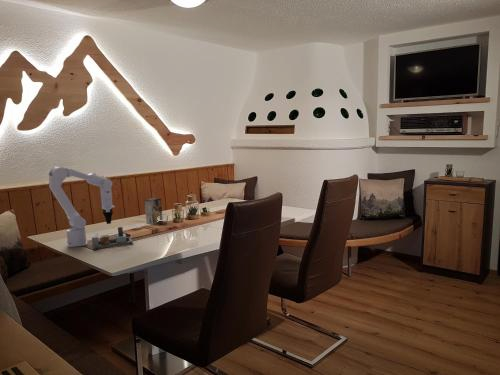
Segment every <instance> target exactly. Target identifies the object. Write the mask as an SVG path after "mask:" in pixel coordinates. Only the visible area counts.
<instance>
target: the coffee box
mask: <svg viewBox="0 0 500 375" xmlns="http://www.w3.org/2000/svg"><path fill="white" fill-rule="evenodd" d="M144 208H145V209H144V210H145V221H146V224H149V225H155V224H157V221H158V220H157V217H158V216H160V220H163V211H162V209H163V207H162V198H160V197H153V198H148V199H144ZM154 223H155V224H154Z"/></svg>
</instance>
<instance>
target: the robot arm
mask: <svg viewBox="0 0 500 375" xmlns="http://www.w3.org/2000/svg"><path fill="white" fill-rule="evenodd" d="M70 177H74V178H78V179H81V180H85V181H86V183H88V184H89V185H92V186H96V187H99V189H100V198H101V200H100V201H101V209H102V214H103V216H104V218H105V222H106V224H107V225H108V224H109V225H111V224H112V217H113V214H114V211H113V208H115V207H116V206H115V205H113V194H112V187H113V181H112V180H111V179H110V178H107V177H104V175H101V176H100V175H98V174H97V173H95V172H91V173H90V172H89V173H84V172H82V171H78V170H76V169H72V168H67V167H64V166H63V167H62V166H53V167H51V169H50V171H49V172H48V188H49V189H50V191H51V192H52V194H53V196H54V197H55V199H56V200H57V202H58V203H59V204H60V206H61V208H62V210H63V211H64V212H65V214H66V218H67V219H68V224H69V226H71V227H70V229H66V241H67V242H66V243H67V247H68V248H74V247H81V246H88V243H89V242H88V240H87V233H86V226H87V221H86V219H85V218H83V217H82V216H81V214H80V213H79V212H77V210H76V209H75V206H73V204H72V203H71V200H70V199H69V198H68V196H67V194H66V193H65V191H64V189H63V188H62V185H63V182H64V181H65V179H66V178H70Z"/></svg>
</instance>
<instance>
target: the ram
mask: <svg viewBox="0 0 500 375" xmlns="http://www.w3.org/2000/svg"><path fill="white" fill-rule="evenodd" d="M123 229H124V227H122V226H119V227H117V233H118V234H117V233H116V234H115V239H116V242H115V243H120V242H127V240H126V237H127V234H126V233H124V231H123Z"/></svg>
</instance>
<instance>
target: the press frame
mask: <svg viewBox="0 0 500 375" xmlns="http://www.w3.org/2000/svg"><path fill="white" fill-rule="evenodd" d="M91 242H92V250H95V249H94V248H97V249H105V248H104V247H107V248H112V246H115V247H119V246H120V247H121V246H122V245H123V246H129V245H133V240H132V237H131V236H126V242H120V243H116V238H111V239H110V238H109V242H110V244H104V245H101V244H100V237H99V233H98V232H94V233H92V234H91Z"/></svg>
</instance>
